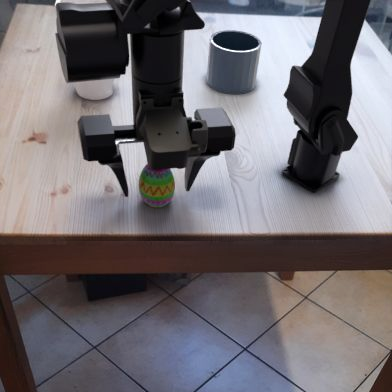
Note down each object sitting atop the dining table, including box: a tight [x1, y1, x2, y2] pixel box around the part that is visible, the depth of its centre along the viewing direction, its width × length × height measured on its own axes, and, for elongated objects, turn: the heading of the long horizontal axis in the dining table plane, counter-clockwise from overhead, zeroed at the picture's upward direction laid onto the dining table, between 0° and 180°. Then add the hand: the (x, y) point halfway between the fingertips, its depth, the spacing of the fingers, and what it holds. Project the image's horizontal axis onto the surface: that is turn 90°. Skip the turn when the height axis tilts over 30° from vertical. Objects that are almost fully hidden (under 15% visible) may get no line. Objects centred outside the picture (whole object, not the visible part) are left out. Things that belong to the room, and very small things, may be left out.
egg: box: [138, 162, 176, 208], centre depth 65 cm, size 5×5×6 cm
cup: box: [206, 29, 263, 95], centre depth 87 cm, size 9×9×7 cm
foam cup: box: [54, 0, 115, 101], centre depth 80 cm, size 10×9×13 cm
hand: (157, 192), depth 67 cm, fingers open, 8 cm apart
